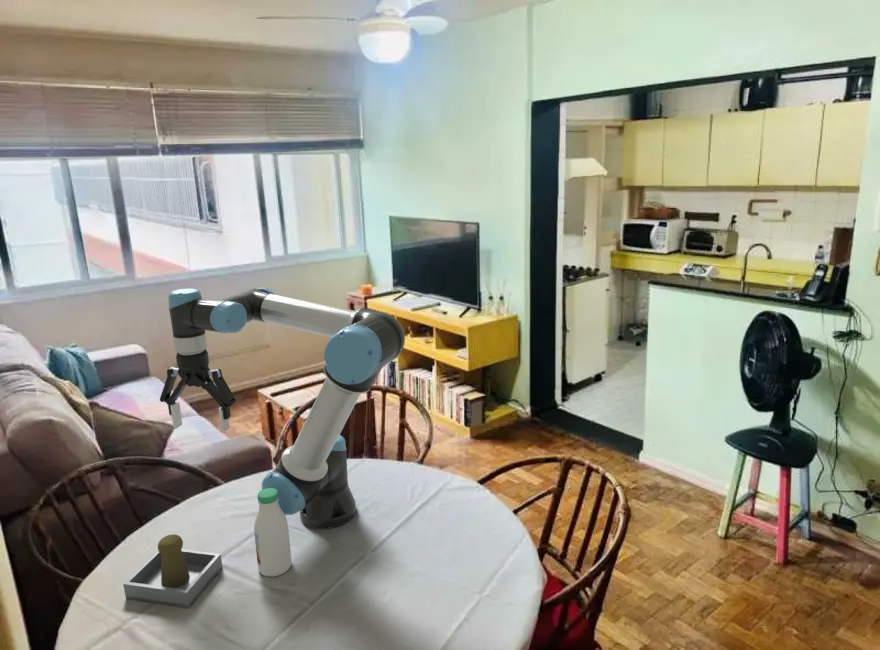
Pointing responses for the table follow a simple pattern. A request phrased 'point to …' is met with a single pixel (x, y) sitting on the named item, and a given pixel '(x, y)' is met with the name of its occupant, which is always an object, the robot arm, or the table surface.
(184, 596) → the tray
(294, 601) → the table surface
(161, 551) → the cork
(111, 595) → the table surface
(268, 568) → the milk bottle
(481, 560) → the table surface
